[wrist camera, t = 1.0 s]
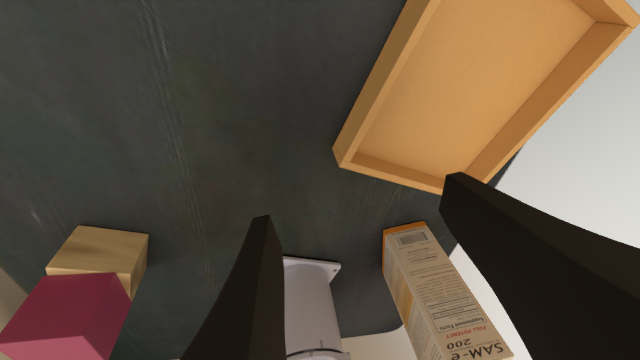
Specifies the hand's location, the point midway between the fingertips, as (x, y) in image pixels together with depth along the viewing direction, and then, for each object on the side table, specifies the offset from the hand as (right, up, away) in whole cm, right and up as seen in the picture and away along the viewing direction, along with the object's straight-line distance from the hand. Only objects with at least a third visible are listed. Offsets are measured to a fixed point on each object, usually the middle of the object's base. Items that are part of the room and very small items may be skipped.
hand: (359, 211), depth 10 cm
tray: (+8, +8, +8) cm, 14 cm away
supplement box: (+8, -6, +20) cm, 22 cm away
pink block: (-19, -7, +9) cm, 22 cm away
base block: (-20, -5, +12) cm, 24 cm away
